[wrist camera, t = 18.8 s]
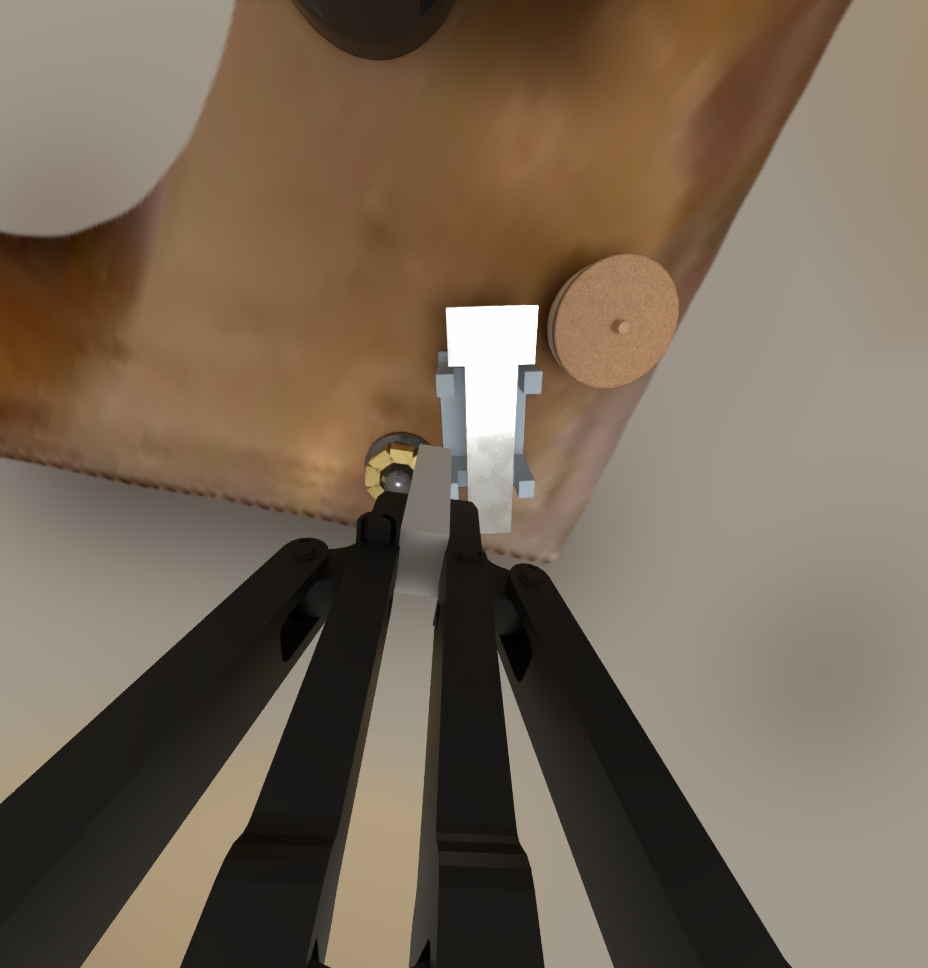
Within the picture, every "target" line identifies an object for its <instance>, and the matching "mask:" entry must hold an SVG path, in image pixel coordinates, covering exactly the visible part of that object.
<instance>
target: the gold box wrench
mask: <svg viewBox="0 0 928 968" xmlns="http://www.w3.org/2000/svg"><path fill="white" fill-rule="evenodd" d="M418 450H419V447H418V448H416V449H415V444H414V443H407V442H400V441H393V444H392V445H391V444H390V442H388V443H387V444H385V445H384V446H382V447H381V448H380V449H378V450H377V451H376V452H374V453H373V454H372V456H371V458H370V460H369V462H368V464H367V466H366V478H365V486H369V487H368V489H367V491H368V492H369V493H370V494H371V495H372V496H373V497H374V498H375V499H377V497H378V496H379V495H380V494H381V493H383V492H384V491H385V488H384V485H385V482H386V478H385V477H384V476H383V470H384V468H385V467H387V466H388V465H390V464H391V463H392V462H393V463H400V464H407V465H409V466H410V467H411V468H412V469H413V470H414V468H415V463H416V459H417V455H418ZM408 494H409V492H408Z"/></svg>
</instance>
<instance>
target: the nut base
mask: <svg viewBox="0 0 928 968" xmlns="http://www.w3.org/2000/svg"><path fill="white" fill-rule="evenodd" d="M393 441H400V442H407V443H414V444H415V449H416V448H418V447H419V446H420V444H423V445H429V444H428V443H427V442H426V441H425V440H423V439H422V438H420V437H418V436H416V435H413V434H410V433H403V432H398V433H392V434H388V435H385V436H383V437H382V438H380V439H379V440H377V441H376V442H375V443H374V444H373V446H372V447H371V449H370V450H369V452H368V454H367V457H366V461H365V472H366V466H367V464H368V462H369V460H370V458H371V456H372V454H373V453H374V452H376V451H377V450H378V449H380V448H381V447H382V446H384V445H385V444H387V443H388V442H390V444H391V445H392V444H393ZM413 472H414V470H413V469H412V468H411V467H410V466H409V465H407V464H400V463H393V462H392V463H391V464H390V465H388V466H387V467H385V468H384V470H383V476H384V477H385V478H386V482H385V485H384V488H385V491H392V492H399V493H406V494H408V492H409V490H410V486H411V481H412V477H413Z"/></svg>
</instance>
